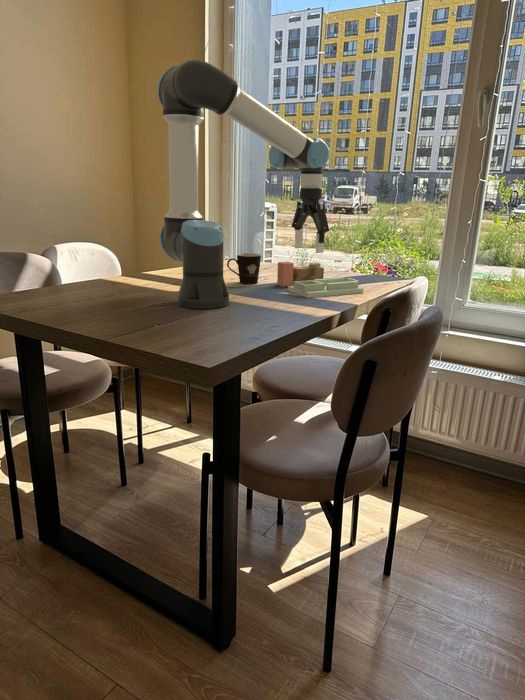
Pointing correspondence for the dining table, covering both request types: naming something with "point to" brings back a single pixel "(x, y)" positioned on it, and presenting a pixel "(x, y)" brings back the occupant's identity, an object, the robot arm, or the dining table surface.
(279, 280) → the red block
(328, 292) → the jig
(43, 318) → the dining table surface
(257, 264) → the coffee mug
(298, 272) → the brown wooden block
